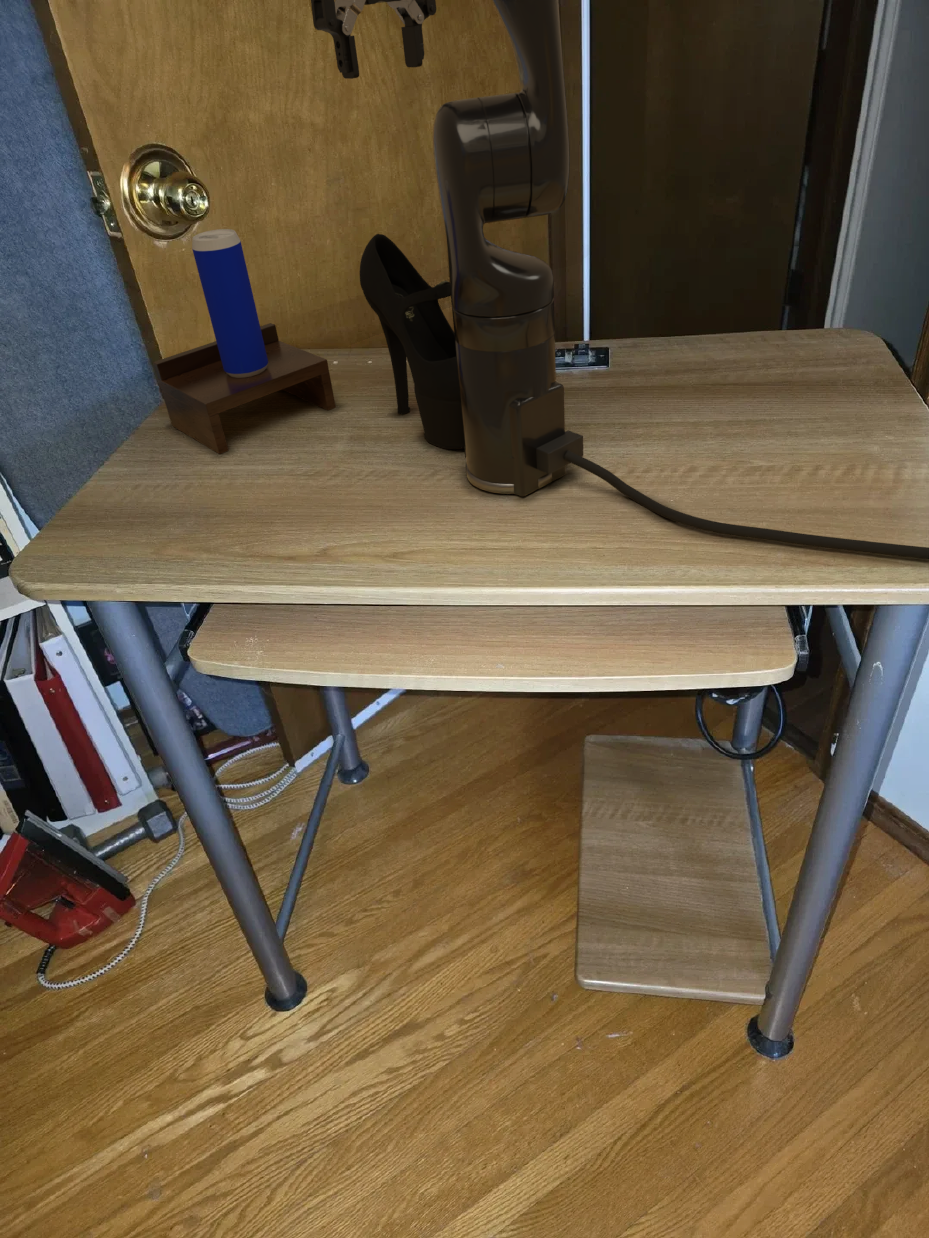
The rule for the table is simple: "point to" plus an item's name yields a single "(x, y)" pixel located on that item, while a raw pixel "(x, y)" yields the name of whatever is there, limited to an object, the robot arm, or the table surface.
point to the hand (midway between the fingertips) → (383, 72)
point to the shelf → (236, 385)
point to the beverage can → (230, 302)
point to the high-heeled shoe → (415, 339)
